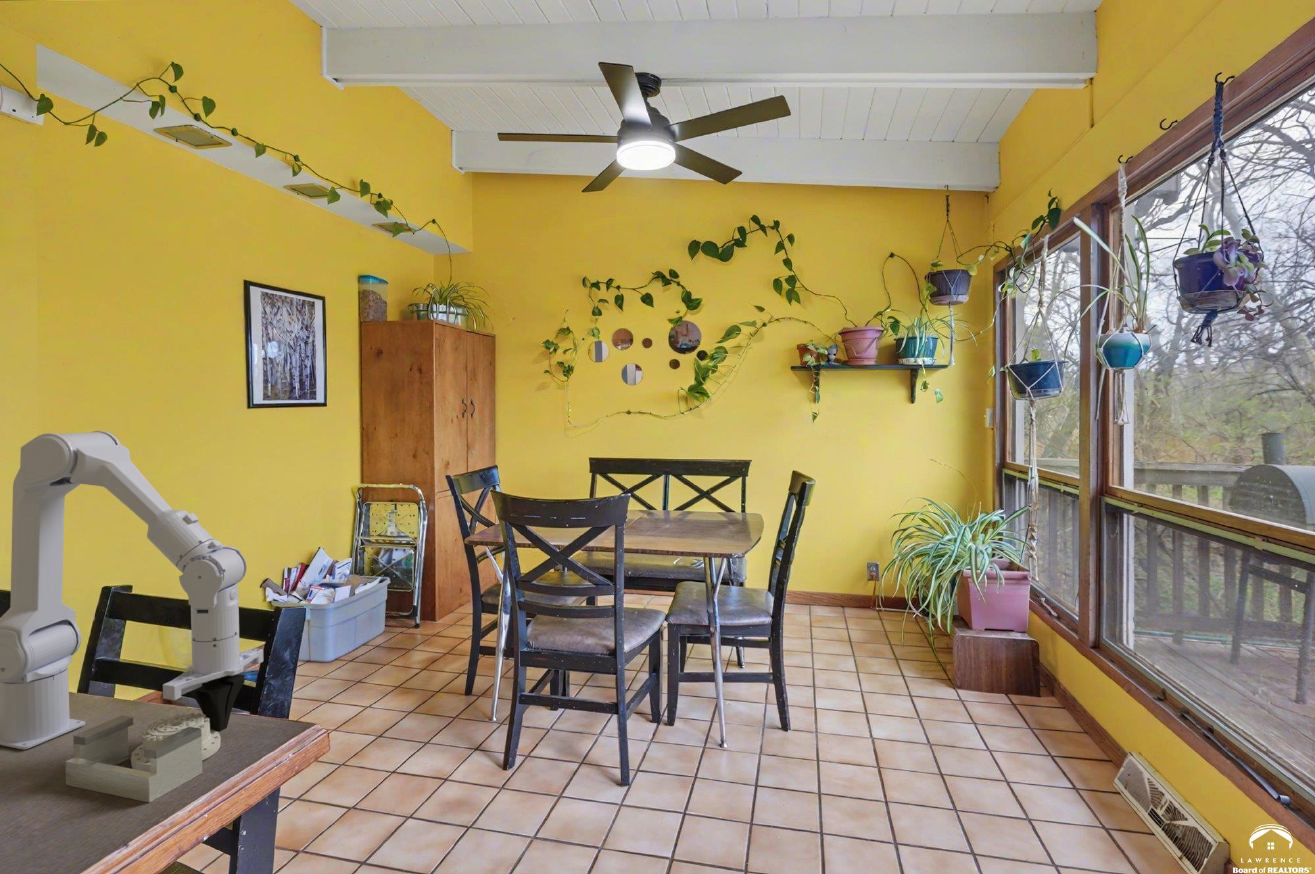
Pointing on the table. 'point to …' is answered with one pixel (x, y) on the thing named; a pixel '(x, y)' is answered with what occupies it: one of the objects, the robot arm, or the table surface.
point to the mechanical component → (171, 727)
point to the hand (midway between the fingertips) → (217, 729)
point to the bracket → (109, 747)
